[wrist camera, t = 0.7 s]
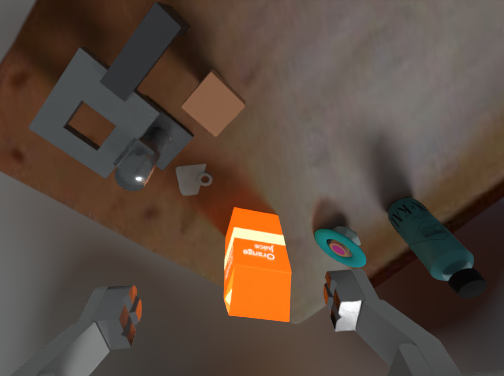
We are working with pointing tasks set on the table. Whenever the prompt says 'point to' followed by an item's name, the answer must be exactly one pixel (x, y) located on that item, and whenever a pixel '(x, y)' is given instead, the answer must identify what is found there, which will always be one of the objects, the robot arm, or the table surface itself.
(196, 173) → the mounting bracket
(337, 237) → the ornament
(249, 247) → the orange juice
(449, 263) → the beverage bottle
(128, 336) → the robot arm
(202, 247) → the table surface
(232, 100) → the brown block
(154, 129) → the grey windowed jig
